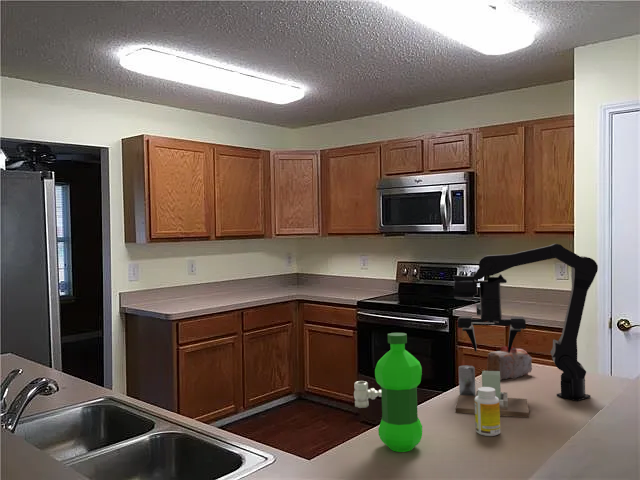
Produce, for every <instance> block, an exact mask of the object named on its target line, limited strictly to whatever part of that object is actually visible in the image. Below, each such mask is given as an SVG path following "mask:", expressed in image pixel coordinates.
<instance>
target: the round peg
mask: <svg viewBox="0 0 640 480" xmlns="http://www.w3.org/2000/svg"><path fill="white" fill-rule="evenodd" d="M458 381H459V382H458V386H459V387H458V389H459V391H458V392H459V395H467V396H476V392H477V390H476V368H475V366H473V365H466V364H465V365H459V366H458Z"/></svg>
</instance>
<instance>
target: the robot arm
mask: <svg viewBox="0 0 640 480" xmlns="http://www.w3.org/2000/svg"><path fill="white" fill-rule="evenodd" d="M552 259H557V260H558V261H560V262H561V263H563V264H565V265H567V266H569V267H570V269H571V270H570V271H571V274H570V275H571V276H570V277H571V291H570V294H569V299H568V300H569V301H568V304H567V309H566V312H565V318H564V323H563V325H562V326H563V327H562V331H561V336H559V339H558V340H556V339H553V340H552V348H551V350H550V352H549V353H550V355H551V358H552V361H553V363H554V364H555V366H556V368H557V369H558V370H559V371H561V372H562V373H561V375H560V392H559V393H556V396H557V397H560V398H564V399H567V400H572V401H575V402H578V401H582V400H584V399H588V398H591V394H587V393H586V374H587V371H586V369H585V368H584V366H583V365H582V363H580V362H579V361H578V336H579V332H580V327H581V322H582V318H583V313H584V310H585V309H584V308H585V304H586V300H587V294H588V291H589V289H590V288H591V285H592V284H593V283H594V280H595V278H596V274H597V273H598V270H599V269H598V268H599V266H598V263H597V262H596V261H595V260H594V259H593V258H592V257H588V256H583V255H582V256H580V255H578V254H577V253H574V252H573V251H571V250H569V249H567V248H565V247H564V246H563V245H562V244H561V243H560V244H559V243H552V244H550V245H546V246H541V247H537V248H532V249H527V250H524V251H518V252H515V253H509V254H508V253H506V254H505V253H504V254H487V255H484V256H483V257H482V258H480V260H479V263H478V269H477V270H476V271H475V272H473V275H459V274H458V275H453V277H454V280H453V283H454V284H453V298H454V299H475V296H477V295H478V294H479V298H480V299H479V300H480V303H479V304H478V303H477V304H476V316H479V317H480V318H473V316H472V315H460V316H459V317H458V318H457V328H458V329H462V332H466V334H467V336H468V337H469V339H470V341H471V342H470V343H471V345H472V347H473V349H474V352H475V353H476V352H477V351H478V349H477V348H478V347H477V340H476V335H475V334H476V333H475V327H474V326H497V327H498V326H499V327H501V326H502V327H503V326H506V327H507V326H509V335H508V344H507V347H508V353H510V350H511V347H513V343H514V340H515V338H516V336H517V334H518V333H521V332H522V330H525V329H526V325H527V323H526V318H525V317H524V316H510V318H504V319H503V318H502V317H503V316H502V315H503V314H502V301H501V299H502V297H501V295H502V294H501V284H506V283H507V279H505V277H503V275H502V274H501V272H504V271H506V270H509V269H512V268H514V267H519V266H523V265H528V264H532V263H537V262H541V261H546V260H552ZM499 273H500V274H499ZM497 274H499V275H498V276H496V275H497ZM486 276H488V277H487V280H483V279H484V278H485V277H486ZM478 284H479V293H478Z"/></svg>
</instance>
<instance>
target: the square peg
mask: <svg viewBox="0 0 640 480" xmlns="http://www.w3.org/2000/svg"><path fill="white" fill-rule="evenodd" d="M481 372H482V373H481V387H491V388H494V389H495V393H496V397H498V398H499V400H501V387H502V386H501V380H500V371H487V370H482V371H481Z"/></svg>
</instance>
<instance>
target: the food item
mask: <svg viewBox="0 0 640 480" xmlns="http://www.w3.org/2000/svg"><path fill="white" fill-rule="evenodd" d="M486 363H487V364H486V371H500V381H502V379H503V380H508V379H514V378H516V377H518V378H520V377H523V376H522V375H524V376H527V375H529V373H531V372H532V370H533V365H532V363H533V362H532V356H531V355H530V354H529V353H528V352H527V351H526V350H524V349H523V348H515V347H514V346H512V347H511V350H510V353H508V346H506V345H504V346H501V347H500V350H496V351H491V352H488V353H487V362H486ZM507 378H508V379H507ZM516 379H517V378H516Z"/></svg>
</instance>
